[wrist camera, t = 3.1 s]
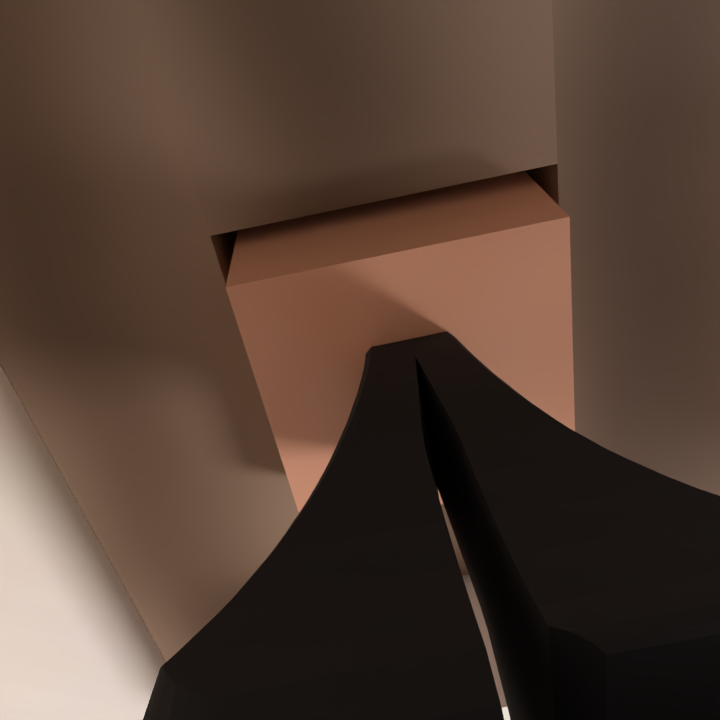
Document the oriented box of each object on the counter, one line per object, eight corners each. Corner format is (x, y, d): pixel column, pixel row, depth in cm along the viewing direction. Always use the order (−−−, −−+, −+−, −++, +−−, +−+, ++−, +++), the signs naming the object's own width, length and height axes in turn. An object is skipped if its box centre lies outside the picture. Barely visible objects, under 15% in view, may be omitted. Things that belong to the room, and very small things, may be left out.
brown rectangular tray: (838, -914, 7) (1058, -1264, 5) (683, 618, 21) (727, 694, 19) (-389, -595, 8) (-645, -794, 6) (240, 699, 21) (233, 782, 19)
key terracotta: (499, 145, 13) (569, 217, 10) (516, 362, 16) (576, 478, 12) (244, 199, 13) (225, 287, 10) (303, 404, 16) (304, 530, 12)
